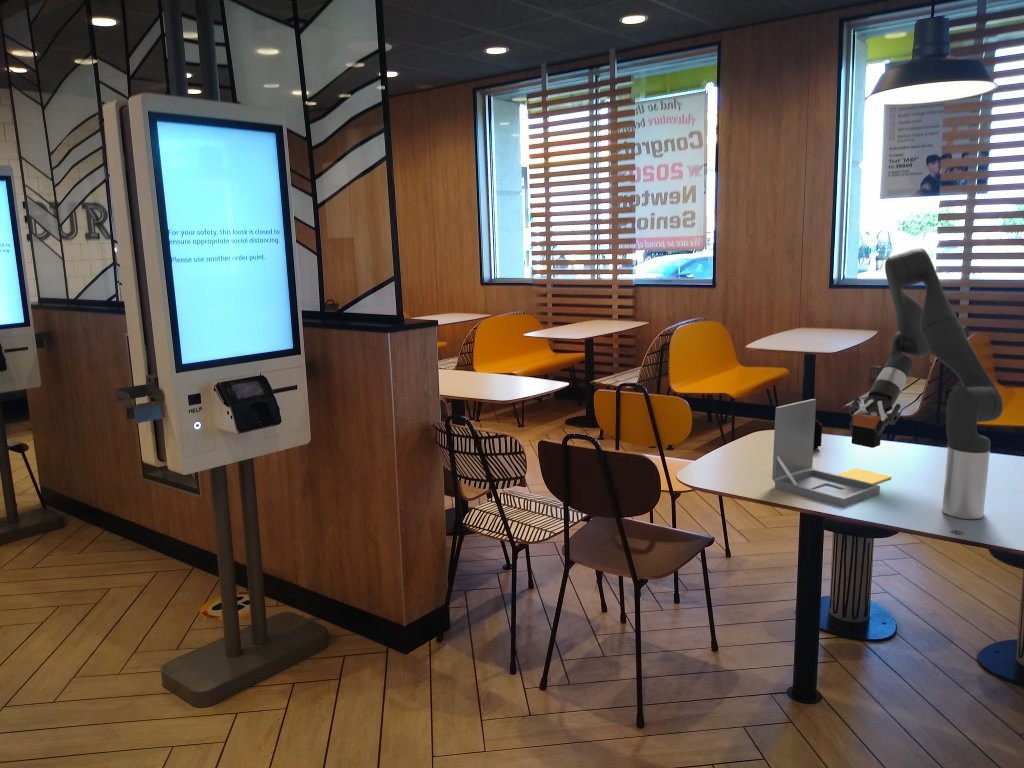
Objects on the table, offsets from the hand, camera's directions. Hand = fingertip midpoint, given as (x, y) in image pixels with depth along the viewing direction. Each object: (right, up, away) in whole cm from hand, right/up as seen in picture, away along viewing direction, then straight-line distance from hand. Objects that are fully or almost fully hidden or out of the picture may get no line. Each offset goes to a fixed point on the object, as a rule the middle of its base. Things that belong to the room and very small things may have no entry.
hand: (863, 430), depth 231 cm
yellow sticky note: (+1, -14, +4) cm, 14 cm away
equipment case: (-14, -16, -8) cm, 23 cm away
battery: (+1, -4, +2) cm, 5 cm away
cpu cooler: (-4, -8, +37) cm, 38 cm away
